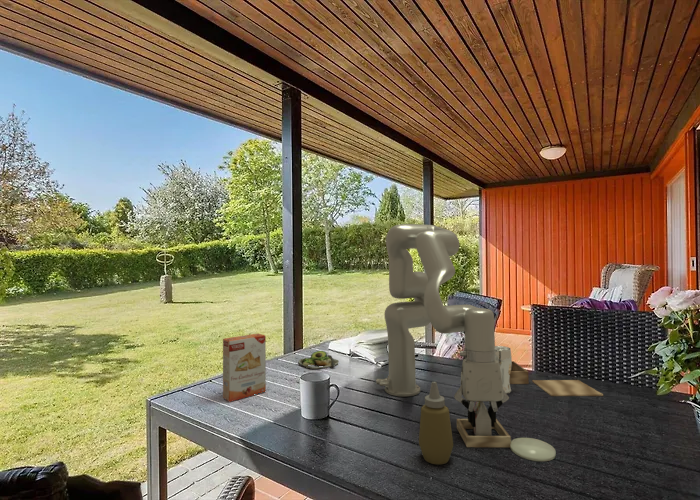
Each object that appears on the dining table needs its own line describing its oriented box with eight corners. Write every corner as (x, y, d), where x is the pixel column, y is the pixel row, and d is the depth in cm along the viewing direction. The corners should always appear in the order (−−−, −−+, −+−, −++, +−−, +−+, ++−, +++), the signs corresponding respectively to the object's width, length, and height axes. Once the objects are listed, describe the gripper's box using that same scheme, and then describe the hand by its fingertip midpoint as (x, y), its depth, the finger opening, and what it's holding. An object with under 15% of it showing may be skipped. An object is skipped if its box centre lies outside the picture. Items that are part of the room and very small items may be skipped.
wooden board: (551, 396, 128) (551, 394, 128) (532, 381, 143) (532, 380, 143) (603, 395, 128) (603, 394, 128) (578, 381, 143) (578, 380, 143)
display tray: (489, 384, 142) (489, 371, 142) (478, 372, 156) (478, 361, 156) (528, 383, 141) (528, 371, 141) (514, 372, 155) (513, 361, 155)
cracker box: (229, 403, 128) (228, 340, 129) (222, 398, 133) (221, 338, 133) (266, 392, 138) (266, 334, 138) (258, 388, 142) (258, 332, 143)
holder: (466, 447, 95) (466, 437, 96) (456, 427, 106) (456, 418, 106) (511, 447, 95) (510, 437, 95) (496, 427, 106) (496, 418, 106)
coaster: (519, 461, 88) (519, 457, 88) (504, 440, 98) (504, 437, 98) (563, 461, 88) (563, 458, 88) (544, 440, 98) (543, 437, 98)
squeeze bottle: (415, 451, 94) (413, 377, 94) (447, 449, 95) (445, 376, 95) (424, 469, 86) (422, 389, 86) (459, 466, 87) (456, 387, 87)
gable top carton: (487, 431, 104) (486, 394, 104) (491, 443, 97) (490, 404, 97) (473, 430, 104) (472, 394, 104) (476, 442, 98) (475, 403, 98)
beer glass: (508, 387, 138) (507, 345, 138) (515, 394, 131) (514, 350, 131) (489, 387, 139) (487, 345, 139) (494, 393, 132) (493, 350, 132)
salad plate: (349, 366, 170) (349, 356, 170) (315, 374, 160) (314, 363, 160) (326, 357, 186) (326, 348, 186) (293, 364, 176) (293, 354, 176)
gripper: (451, 359, 98) (453, 431, 97) (517, 359, 97) (520, 431, 96) (445, 352, 105) (447, 418, 105) (507, 351, 104) (509, 419, 104)
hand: (482, 424), depth 101 cm, fingers closed on gable top carton, 4 cm apart
